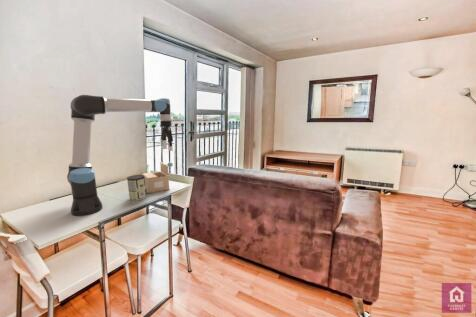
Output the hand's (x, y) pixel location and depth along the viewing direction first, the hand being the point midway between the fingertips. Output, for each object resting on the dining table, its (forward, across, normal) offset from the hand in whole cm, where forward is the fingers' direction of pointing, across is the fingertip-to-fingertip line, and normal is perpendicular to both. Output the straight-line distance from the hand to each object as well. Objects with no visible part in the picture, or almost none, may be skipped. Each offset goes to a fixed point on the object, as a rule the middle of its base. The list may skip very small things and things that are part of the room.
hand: (167, 149), depth 176 cm
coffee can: (+28, -15, +26) cm, 40 cm away
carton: (+27, 0, +11) cm, 29 cm away
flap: (+13, 0, +4) cm, 13 cm away
